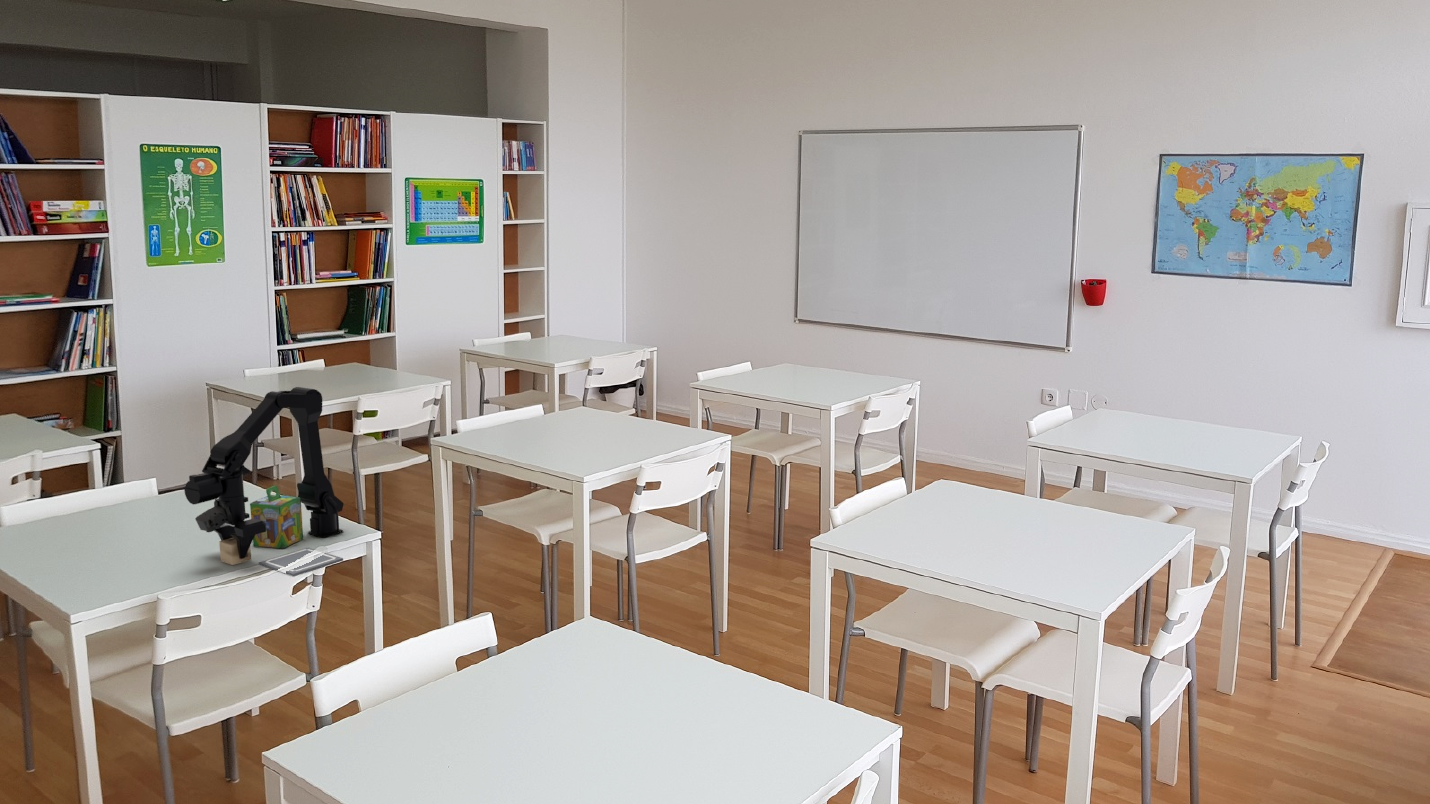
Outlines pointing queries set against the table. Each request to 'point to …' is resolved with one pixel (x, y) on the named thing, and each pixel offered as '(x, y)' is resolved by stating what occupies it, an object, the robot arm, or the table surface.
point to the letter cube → (232, 552)
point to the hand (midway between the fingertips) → (236, 556)
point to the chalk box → (278, 519)
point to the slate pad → (293, 556)
